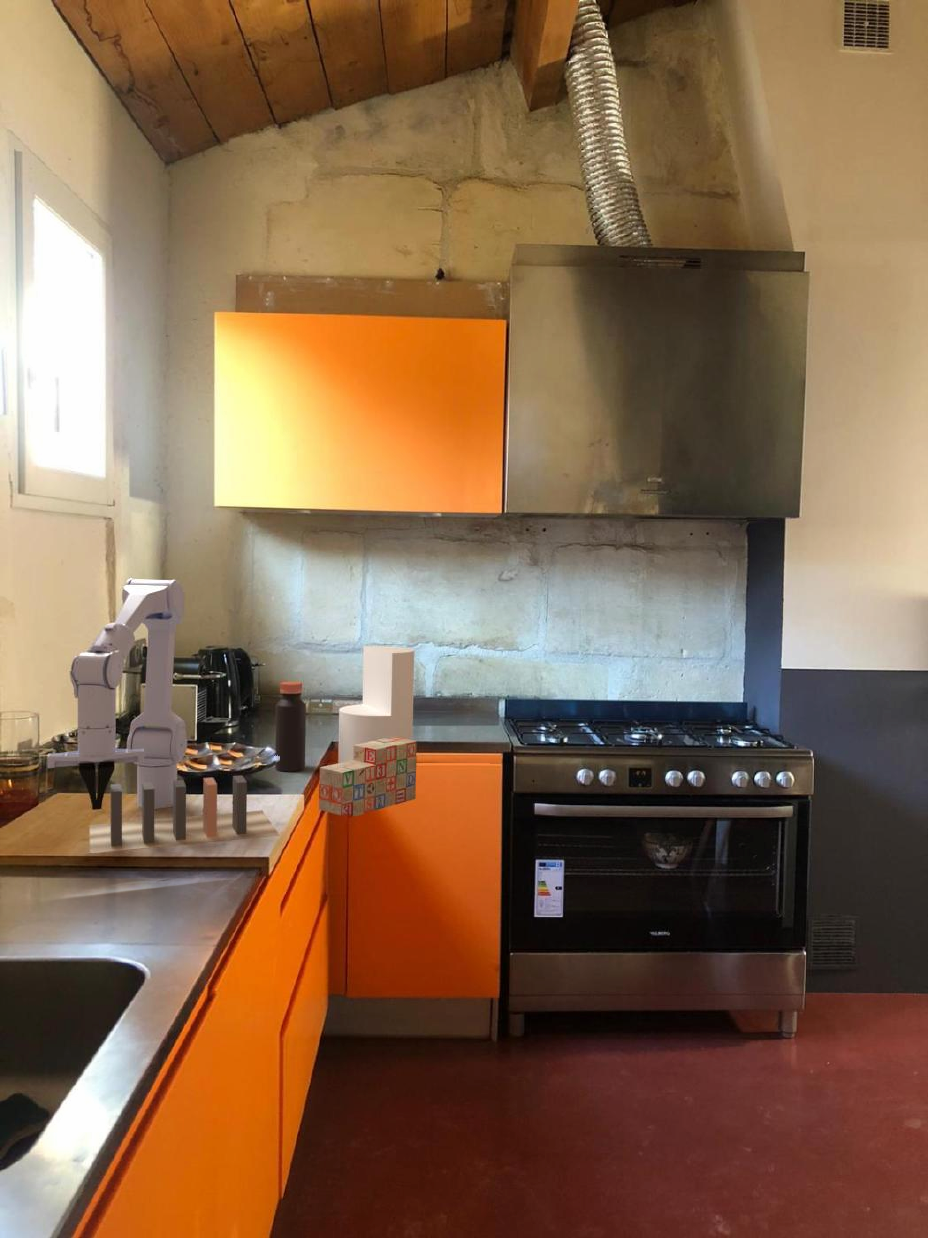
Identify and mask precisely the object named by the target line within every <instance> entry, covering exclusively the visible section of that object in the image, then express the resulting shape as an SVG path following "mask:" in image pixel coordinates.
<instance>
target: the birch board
mask: <svg viewBox="0 0 928 1238" xmlns="http://www.w3.org/2000/svg"><path fill="white" fill-rule="evenodd" d="M232 816H233V812H225V813H217V837H206V834H205V832H204V830H203V814H202V815H193V816H192V815H191V816H186V840H176V839H175V836H174V833H173V817H170V818H169V817H168V818H158V819H157V818H156V819H154V843H144V841H143V836H142V820H135V821H133V820H132V821H125V822H123V821H122V846H112V847H111V822H110V823H99V824H89V854H91V855H92V854H100V853H111V852H121V851H130V850H131V851H132V850H134V851H135V850H142V849H152V848H153V849H155V848H162V847H172V846H183V845H185V846H186V845H194V844H195V845H196V844H203V843H213V842H224V841H234V840H244V839H254V838H263V837H274V836H275V837H276V836H280V834H279V832H278V830H277V829H276V828H275V826H274V825H273V824H272V822H271V820H270V819H269V818H268V817H267V814H265V812H264V810H262V809H261V810H249V811H247V820H246V834H238V835H237V834H236V832H235V830H234V828H233V827H232Z"/></svg>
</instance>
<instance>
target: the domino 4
mask: <svg viewBox="0 0 928 1238" xmlns="http://www.w3.org/2000/svg"><path fill="white" fill-rule="evenodd" d="M202 795H203V797H202V799H203V803H202V804H203V805H202V807H203V809H202V810H203V811H202V813H203V814H202V815H203V830H204V832H205V834H206V837H217V814H218V783H217V782H216V780H215V779H214V777H203V794H202Z"/></svg>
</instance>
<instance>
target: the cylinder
mask: <svg viewBox="0 0 928 1238" xmlns="http://www.w3.org/2000/svg"><path fill="white" fill-rule="evenodd" d="M362 656H363V657H362V658H363V659H362V660H363V661H362V663H363V664H362V666H363V667H362V668H363V669H362V670H363V671H362V703H361V704H351V705H346V706H342V707H340V708H339V710H338V755H337V756H338V758H337V759H338V760H337V762H338V763H343V762H348V761H352V760H353V752H354V745H357V744H362V743H366V742H371V741H375V740H379V739H388V738H394V737H395V738H401V739H408V740H413V734H414V733H413V731H414V730H413V729H414V727H413V726H414V723H413V722H414V688H415V687H414V685H415V682H414V681H415V649H413V648H411V647H410V648H408V647H401V646H400V647H399V646H385V645H384V646H383V645H363V655H362ZM338 763H337V764H338Z"/></svg>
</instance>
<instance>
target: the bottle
mask: <svg viewBox="0 0 928 1238" xmlns="http://www.w3.org/2000/svg"><path fill="white" fill-rule="evenodd" d="M279 690H280V691H279V692H280V695H281V699H280V700H279V701H278V702H277V703H276V704H275V749H274V750H275V753H276V756H277V755H278V756H280V761H279V762H278V763H277V764H276V765H275V764H274V767H275V769H276V770H277V771H279V772H288V773H291V772H300V771H302V770H304V769H305V768H306V736H307V735H306V734H307V733H306V732H307V731H306V729H307V728H306V727H307V725H306V724H307V721H306V720H307V704H306V703H305V702H304V700H302V699H301V697H302V694H303V682H300V681H283V682H280V689H279ZM275 753H274V754H275Z"/></svg>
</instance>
